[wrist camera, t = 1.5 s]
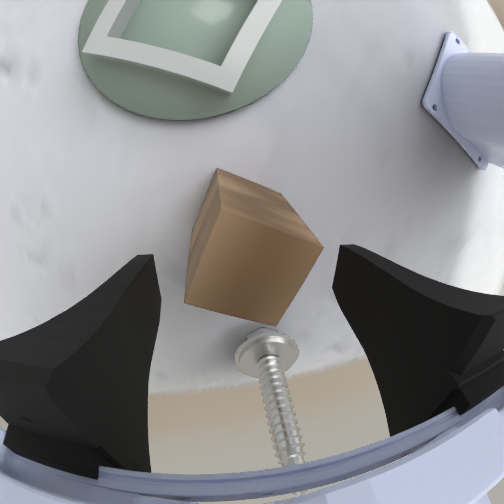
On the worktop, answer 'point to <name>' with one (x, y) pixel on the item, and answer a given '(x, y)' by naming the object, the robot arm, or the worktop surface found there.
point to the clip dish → (191, 52)
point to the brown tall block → (248, 251)
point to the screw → (274, 388)
